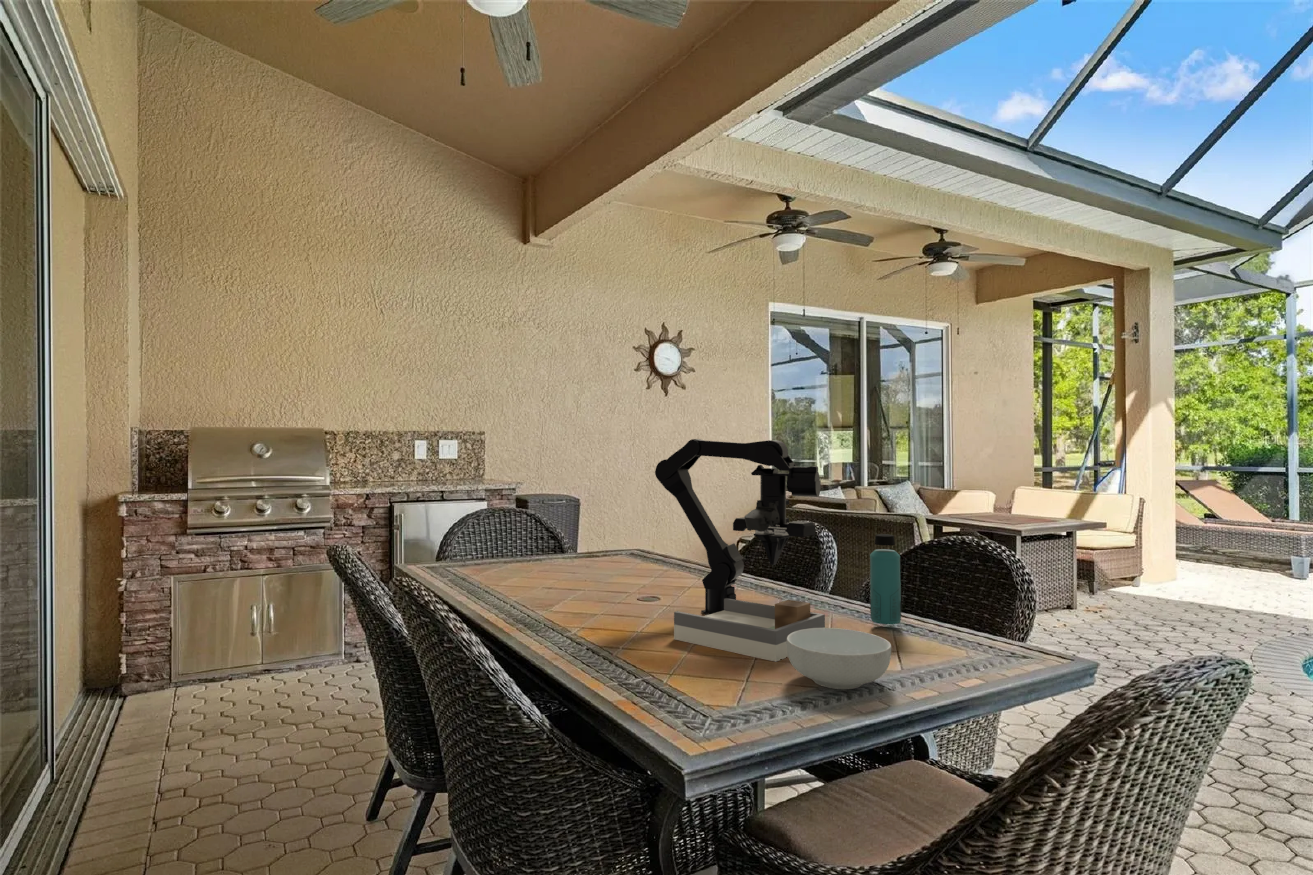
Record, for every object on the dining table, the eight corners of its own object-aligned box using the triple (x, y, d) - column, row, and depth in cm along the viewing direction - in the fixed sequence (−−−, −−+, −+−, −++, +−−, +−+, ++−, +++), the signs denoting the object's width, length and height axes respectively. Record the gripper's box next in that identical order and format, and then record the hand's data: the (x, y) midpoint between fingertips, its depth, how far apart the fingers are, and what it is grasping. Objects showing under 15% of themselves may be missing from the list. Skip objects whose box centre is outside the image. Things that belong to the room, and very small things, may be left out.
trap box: (674, 639, 154) (674, 611, 154) (726, 623, 168) (726, 598, 168) (775, 661, 139) (775, 631, 139) (824, 642, 152) (824, 614, 152)
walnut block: (774, 629, 150) (774, 603, 150) (788, 624, 154) (788, 599, 154) (797, 633, 147) (796, 607, 147) (810, 628, 151) (810, 603, 151)
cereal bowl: (815, 703, 117) (815, 657, 117) (770, 671, 133) (770, 630, 133) (912, 693, 121) (912, 648, 121) (857, 664, 137) (857, 624, 137)
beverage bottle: (905, 631, 161) (905, 536, 161) (873, 631, 161) (873, 536, 161) (896, 624, 167) (896, 532, 167) (865, 624, 167) (865, 532, 167)
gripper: (718, 495, 173) (718, 564, 173) (790, 499, 161) (790, 574, 161) (746, 493, 182) (746, 559, 181) (816, 497, 169) (816, 567, 169)
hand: (773, 564), depth 173 cm, fingers closed
